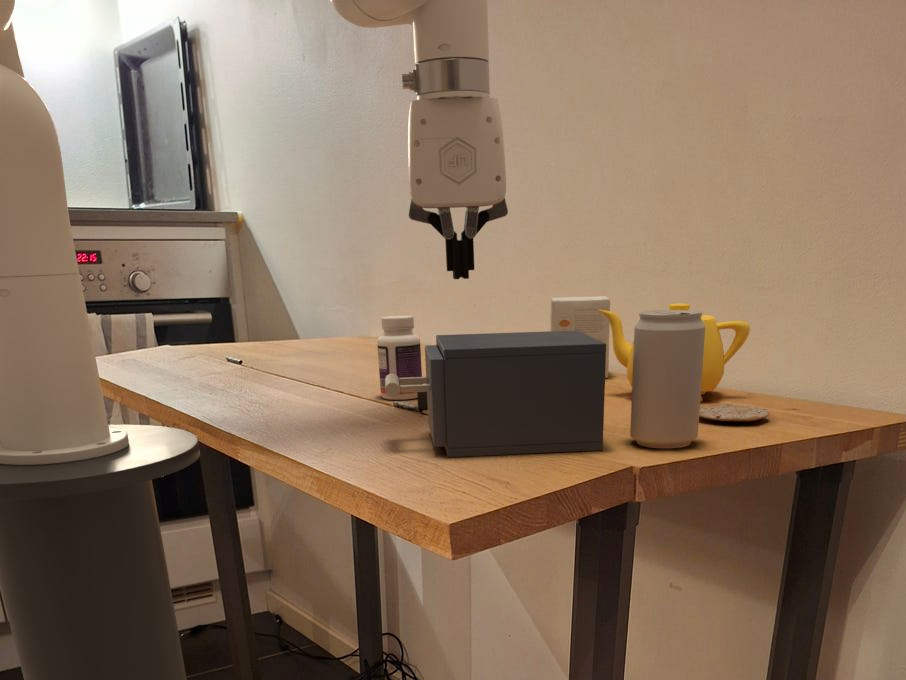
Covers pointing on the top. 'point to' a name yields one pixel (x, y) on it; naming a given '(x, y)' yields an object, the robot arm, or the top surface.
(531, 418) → the cabinet
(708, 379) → the teapot
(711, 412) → the flatbread
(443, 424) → the drawer
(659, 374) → the beverage can
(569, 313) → the small box
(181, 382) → the top surface
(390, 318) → the pill bottle
